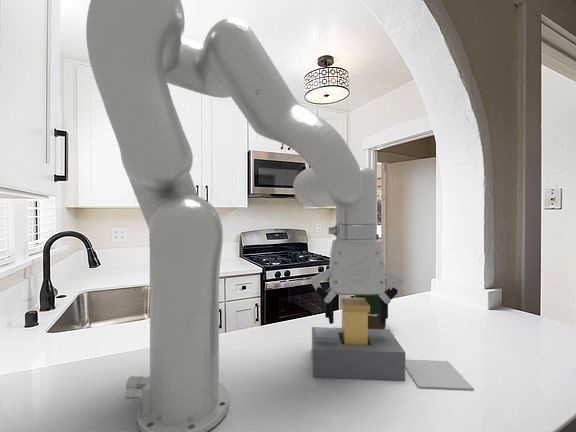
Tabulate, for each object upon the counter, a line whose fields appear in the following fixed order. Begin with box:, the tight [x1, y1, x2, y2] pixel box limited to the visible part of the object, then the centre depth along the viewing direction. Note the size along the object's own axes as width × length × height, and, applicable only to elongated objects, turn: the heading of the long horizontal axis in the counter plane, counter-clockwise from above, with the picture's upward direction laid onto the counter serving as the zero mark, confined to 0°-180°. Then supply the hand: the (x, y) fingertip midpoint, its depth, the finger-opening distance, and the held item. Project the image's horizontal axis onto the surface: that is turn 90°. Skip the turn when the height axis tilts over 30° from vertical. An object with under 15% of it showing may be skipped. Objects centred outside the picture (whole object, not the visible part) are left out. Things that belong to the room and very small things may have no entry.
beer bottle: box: [354, 233, 387, 329], centre depth 74 cm, size 8×8×24 cm
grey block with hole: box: [311, 326, 406, 382], centre depth 57 cm, size 16×10×6 cm, turn 87°
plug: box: [339, 297, 370, 345], centre depth 57 cm, size 5×5×12 cm
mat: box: [405, 359, 475, 391], centre depth 53 cm, size 9×9×1 cm
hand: (356, 321), depth 57 cm, fingers open, 9 cm apart
